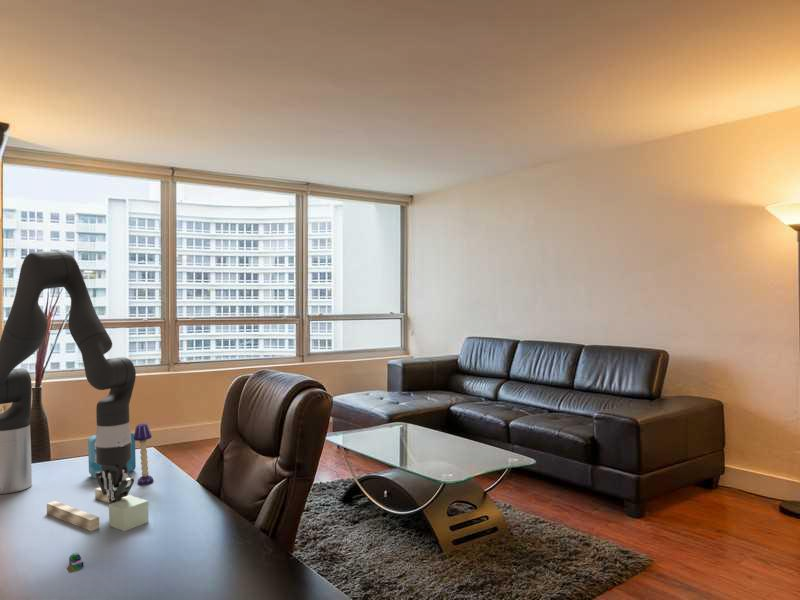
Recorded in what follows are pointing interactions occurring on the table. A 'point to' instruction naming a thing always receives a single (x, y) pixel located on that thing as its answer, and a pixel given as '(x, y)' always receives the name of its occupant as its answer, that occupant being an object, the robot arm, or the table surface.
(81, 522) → the parallel wooden bars
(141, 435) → the toy lamp
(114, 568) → the table surface
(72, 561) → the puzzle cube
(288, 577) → the table surface
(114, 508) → the sage block
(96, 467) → the data package
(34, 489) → the table surface
